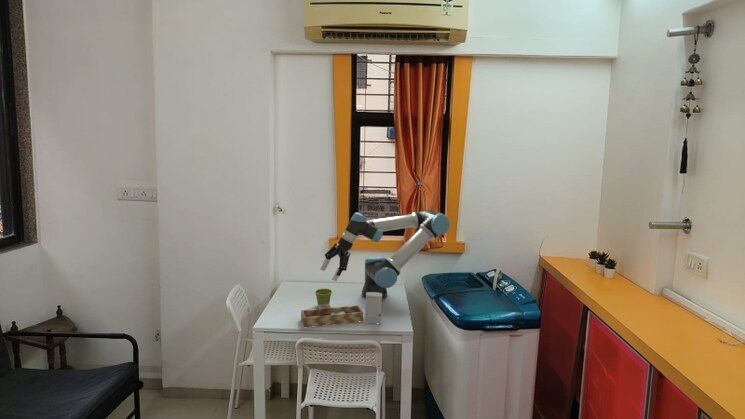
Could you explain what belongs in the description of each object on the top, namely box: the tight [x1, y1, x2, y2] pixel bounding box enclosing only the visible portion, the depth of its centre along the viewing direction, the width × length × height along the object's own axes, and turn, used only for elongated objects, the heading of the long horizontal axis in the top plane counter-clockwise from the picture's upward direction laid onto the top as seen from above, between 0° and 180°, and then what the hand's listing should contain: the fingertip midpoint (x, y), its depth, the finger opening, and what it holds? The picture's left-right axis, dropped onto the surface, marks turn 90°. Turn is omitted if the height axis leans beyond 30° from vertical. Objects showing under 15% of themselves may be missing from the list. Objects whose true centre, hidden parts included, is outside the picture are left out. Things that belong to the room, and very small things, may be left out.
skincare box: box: [364, 292, 383, 325], centre depth 229 cm, size 8×6×15 cm
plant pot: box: [314, 288, 333, 305], centre depth 248 cm, size 9×9×9 cm
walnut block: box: [316, 303, 332, 316], centre depth 228 cm, size 6×6×5 cm
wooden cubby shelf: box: [300, 304, 364, 328], centre depth 230 cm, size 30×10×5 cm, turn 106°
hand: (327, 275), depth 241 cm, fingers open, 13 cm apart
